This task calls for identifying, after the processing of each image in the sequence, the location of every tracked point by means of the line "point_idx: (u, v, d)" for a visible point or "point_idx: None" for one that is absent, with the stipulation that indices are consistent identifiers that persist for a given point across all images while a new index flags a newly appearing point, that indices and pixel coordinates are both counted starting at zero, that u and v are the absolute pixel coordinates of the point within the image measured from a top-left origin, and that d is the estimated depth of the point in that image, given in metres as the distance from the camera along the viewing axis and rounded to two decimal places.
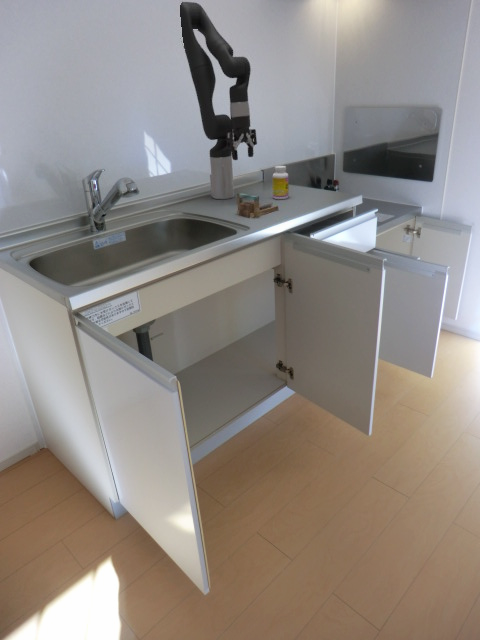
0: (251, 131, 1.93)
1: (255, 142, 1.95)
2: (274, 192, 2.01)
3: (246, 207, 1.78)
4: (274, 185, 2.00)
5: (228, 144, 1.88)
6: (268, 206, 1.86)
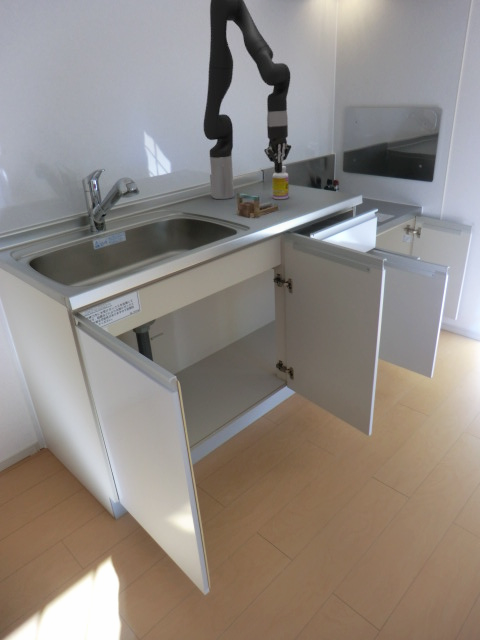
0: (287, 145, 1.84)
1: (284, 157, 1.84)
2: (274, 192, 2.01)
3: (246, 207, 1.78)
4: (274, 185, 2.00)
5: (270, 158, 1.82)
6: (268, 206, 1.86)
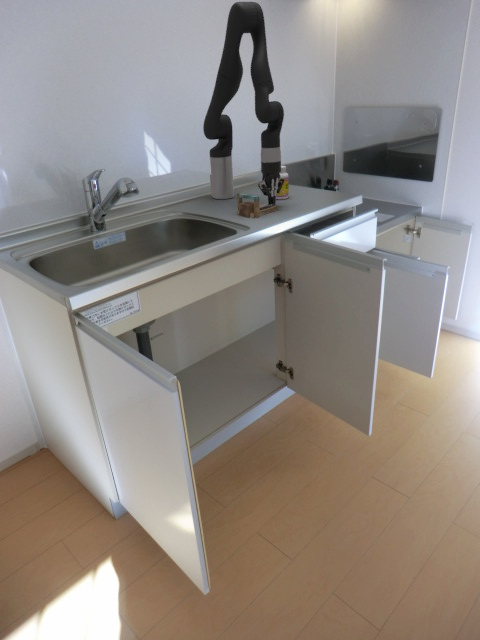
0: (280, 179, 1.87)
1: (278, 191, 1.87)
2: None
3: (246, 207, 1.78)
4: None
5: (264, 192, 1.85)
6: (268, 207, 1.85)
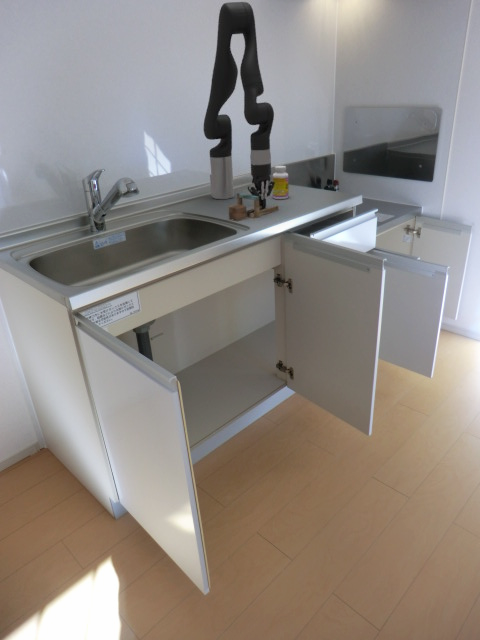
0: (270, 182, 1.84)
1: (268, 194, 1.84)
2: (274, 192, 2.01)
3: (235, 210, 1.74)
4: (274, 185, 2.00)
5: (254, 195, 1.82)
6: None
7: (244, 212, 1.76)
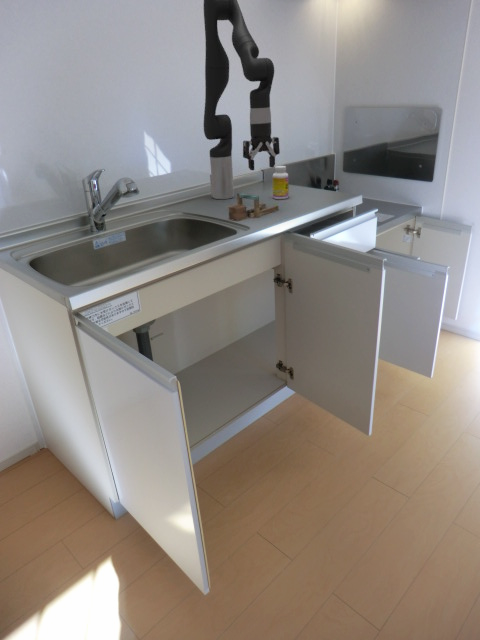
0: (273, 139, 1.76)
1: (277, 151, 1.78)
2: (274, 192, 2.01)
3: (235, 210, 1.74)
4: (274, 185, 2.00)
5: (244, 153, 1.74)
6: None
7: (244, 212, 1.76)
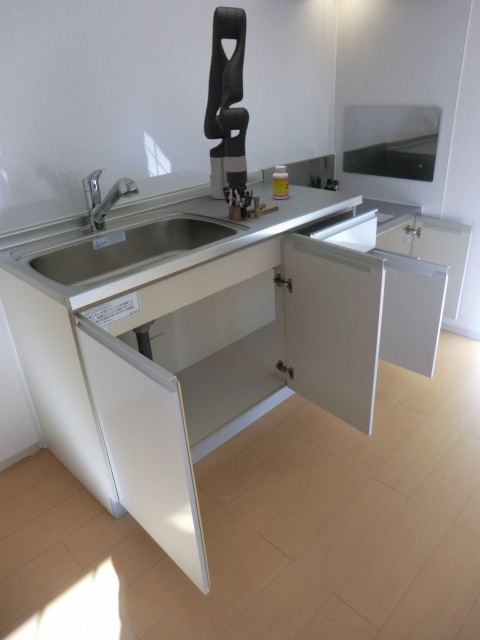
0: (246, 191, 1.70)
1: (244, 204, 1.72)
2: (274, 192, 2.01)
3: (235, 210, 1.74)
4: (274, 185, 2.00)
5: None
6: None
7: None
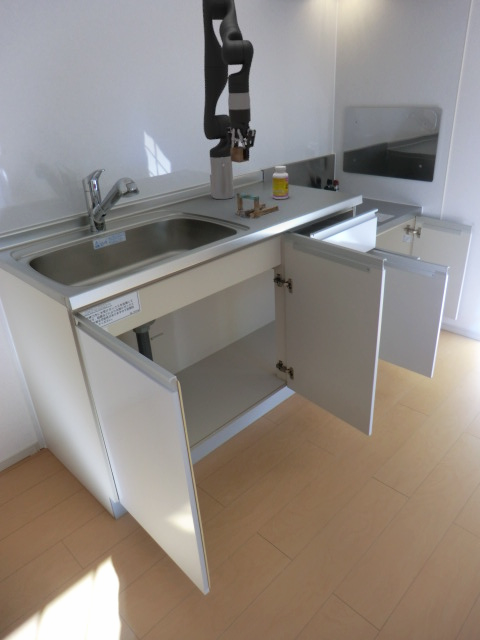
0: None
1: (247, 145, 1.67)
2: (274, 192, 2.01)
3: (237, 151, 1.69)
4: (274, 185, 2.00)
5: (232, 139, 1.75)
6: None
7: None
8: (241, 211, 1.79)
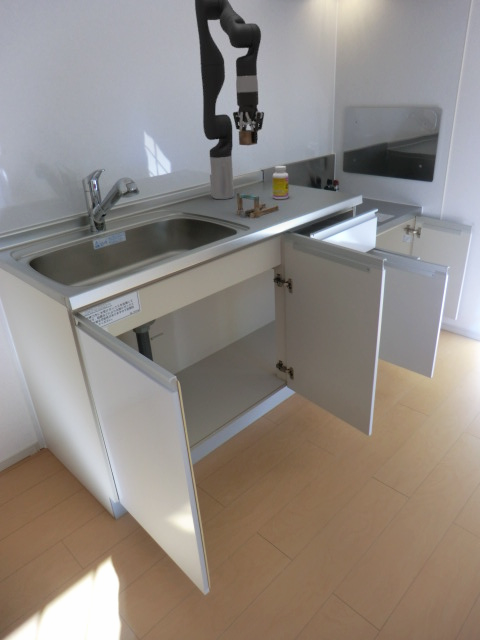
0: (257, 113, 1.67)
1: (255, 127, 1.69)
2: (274, 192, 2.01)
3: (246, 134, 1.71)
4: (274, 185, 2.00)
5: (240, 124, 1.76)
6: None
7: None
8: (241, 211, 1.79)
